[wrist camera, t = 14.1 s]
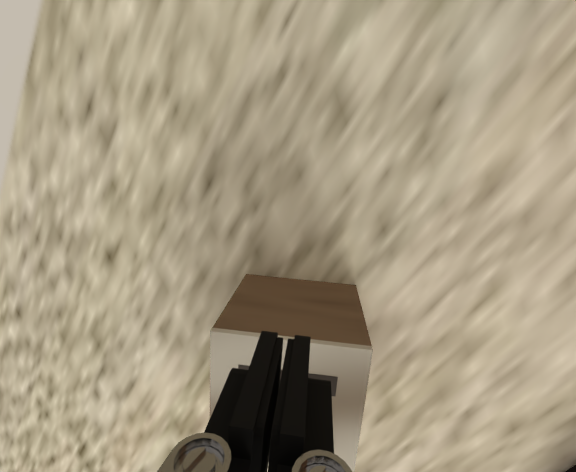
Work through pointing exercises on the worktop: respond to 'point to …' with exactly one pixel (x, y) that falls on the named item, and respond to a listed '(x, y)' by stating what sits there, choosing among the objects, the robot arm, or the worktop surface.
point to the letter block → (306, 322)
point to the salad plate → (572, 469)
